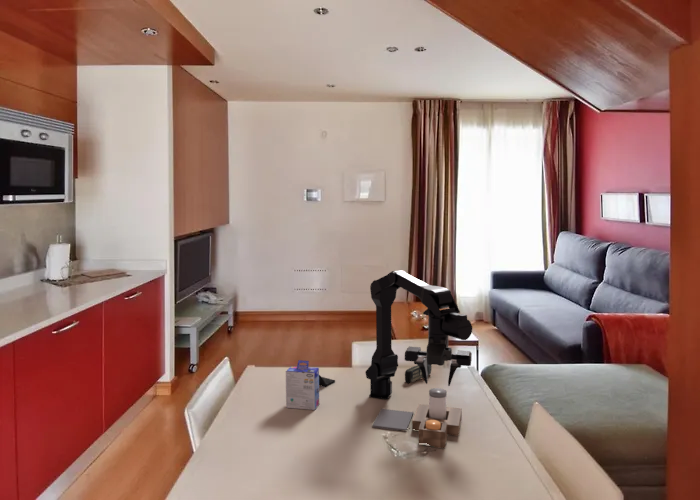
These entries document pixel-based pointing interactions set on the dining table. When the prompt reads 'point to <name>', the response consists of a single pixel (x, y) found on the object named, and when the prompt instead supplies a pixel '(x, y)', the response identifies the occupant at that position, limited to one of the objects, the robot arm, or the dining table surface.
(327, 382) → the handheld gaming console
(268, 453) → the dining table surface
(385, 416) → the mat
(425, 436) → the socket block
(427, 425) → the release button
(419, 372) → the mobile phone
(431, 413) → the cylinder
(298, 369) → the ink cartridge box
